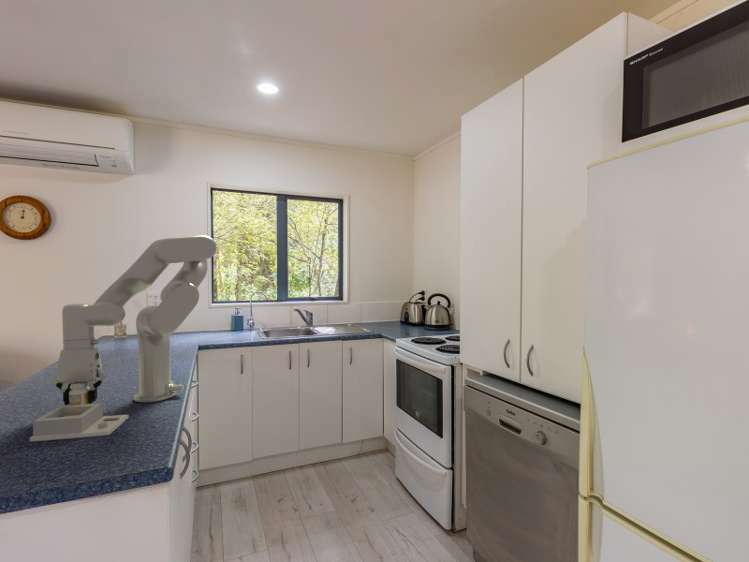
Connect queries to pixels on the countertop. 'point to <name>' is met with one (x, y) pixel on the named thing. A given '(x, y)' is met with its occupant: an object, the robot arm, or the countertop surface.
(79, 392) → the supplement bottle
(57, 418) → the white holder tray
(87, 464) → the countertop surface
